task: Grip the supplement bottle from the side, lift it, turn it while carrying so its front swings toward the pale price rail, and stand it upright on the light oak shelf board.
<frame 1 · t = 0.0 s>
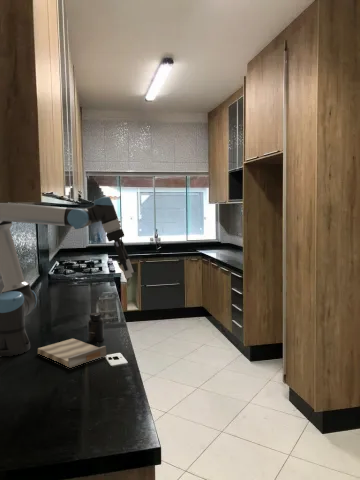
hand: (130, 275, 172), 28 cm above the counter, tool tilted 20°, fingers open, 13 cm apart
supplement bottle: (95, 341, 168), on the counter
shelf board: (71, 355, 151), on the counter
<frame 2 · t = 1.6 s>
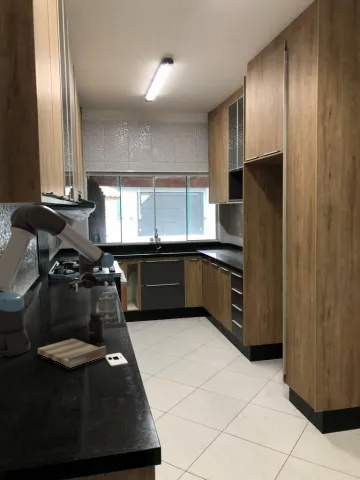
hand: (92, 287, 176), 22 cm above the counter, tool horizontal, fingers open, 13 cm apart
nothing on the counter moved.
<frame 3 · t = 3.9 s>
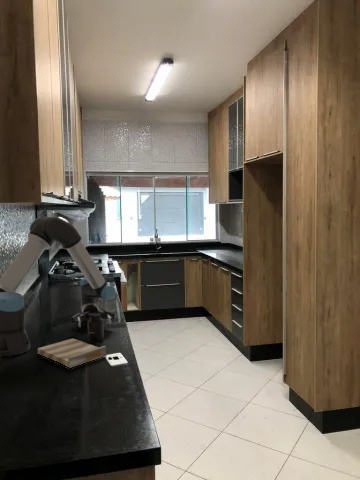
hand: (95, 322, 174), 6 cm above the counter, tool horizontal, fingers open, 13 cm apart
nothing on the counter moved.
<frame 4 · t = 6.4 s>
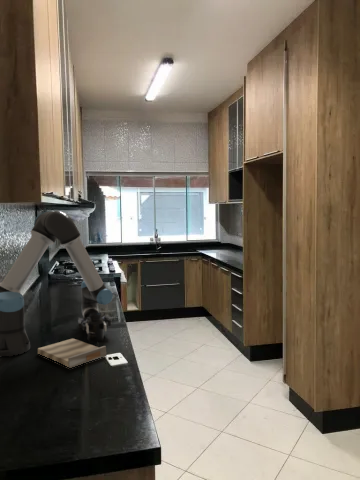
hand: (96, 329, 163), 7 cm above the counter, tool horizontal, fingers closed on supplement bottle, 7 cm apart
supplement bottle: (95, 341, 168), on the counter, touching gripper
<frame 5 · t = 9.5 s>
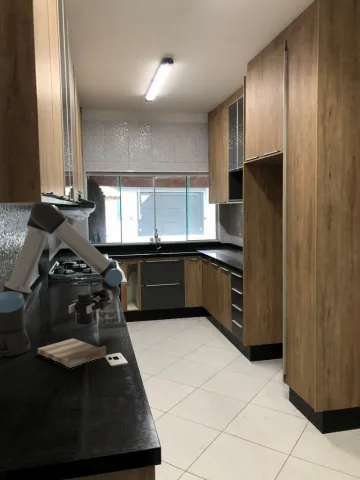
hand: (78, 309, 150), 18 cm above the counter, tool horizontal, fingers closed on supplement bottle, 7 cm apart
supplement bottle: (84, 323, 155), point 11 cm above the counter, touching gripper
when the fingers open (10 cm above the counter, at t = 12.8 s): supplement bottle drops 1 cm, resting on shelf board.
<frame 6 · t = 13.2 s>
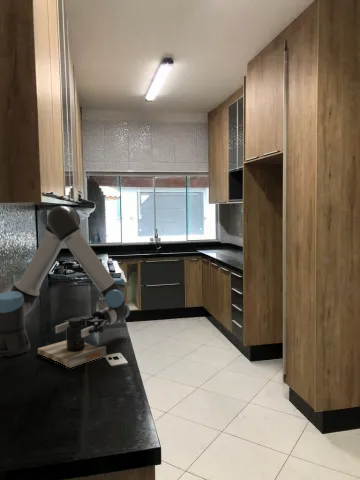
hand: (68, 331, 147), 10 cm above the counter, tool horizontal, fingers open, 12 cm apart
supplement bottle: (75, 349, 150), point 2 cm above the counter, touching shelf board
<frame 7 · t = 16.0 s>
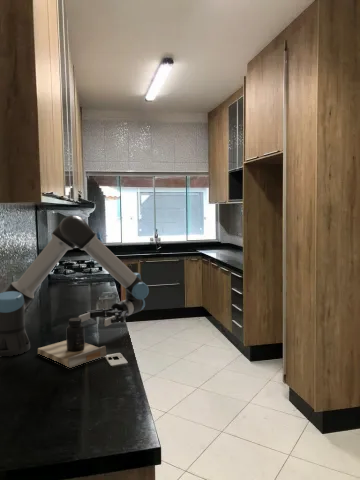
hand: (91, 321, 159), 11 cm above the counter, tool horizontal, fingers open, 13 cm apart
nothing on the counter moved.
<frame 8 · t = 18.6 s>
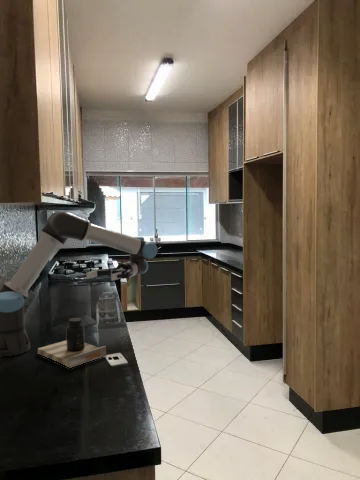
hand: (99, 276, 169), 28 cm above the counter, tool horizontal, fingers open, 13 cm apart
nothing on the counter moved.
at the end: supplement bottle inside the target area on the shelf board (1.0 cm from its centre), point 2.3 cm above the shelf board's base; supplement bottle tilted 0°; the gripper is holding nothing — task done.
